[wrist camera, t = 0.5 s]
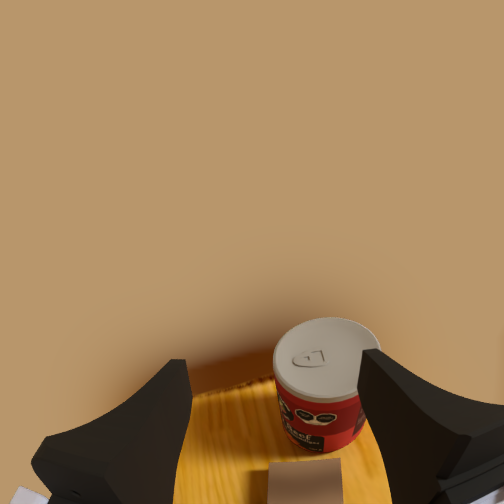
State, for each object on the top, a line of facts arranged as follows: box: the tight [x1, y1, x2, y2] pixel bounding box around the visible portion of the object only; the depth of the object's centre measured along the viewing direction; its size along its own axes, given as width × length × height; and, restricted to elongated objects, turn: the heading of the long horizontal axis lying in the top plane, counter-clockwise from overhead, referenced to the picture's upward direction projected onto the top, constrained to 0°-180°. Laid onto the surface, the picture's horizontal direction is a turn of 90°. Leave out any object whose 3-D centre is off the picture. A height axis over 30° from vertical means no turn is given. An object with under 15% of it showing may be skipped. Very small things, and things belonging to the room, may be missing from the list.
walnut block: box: [267, 458, 343, 504], centre depth 20 cm, size 6×6×2 cm
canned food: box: [273, 317, 381, 453], centre depth 24 cm, size 8×8×11 cm
